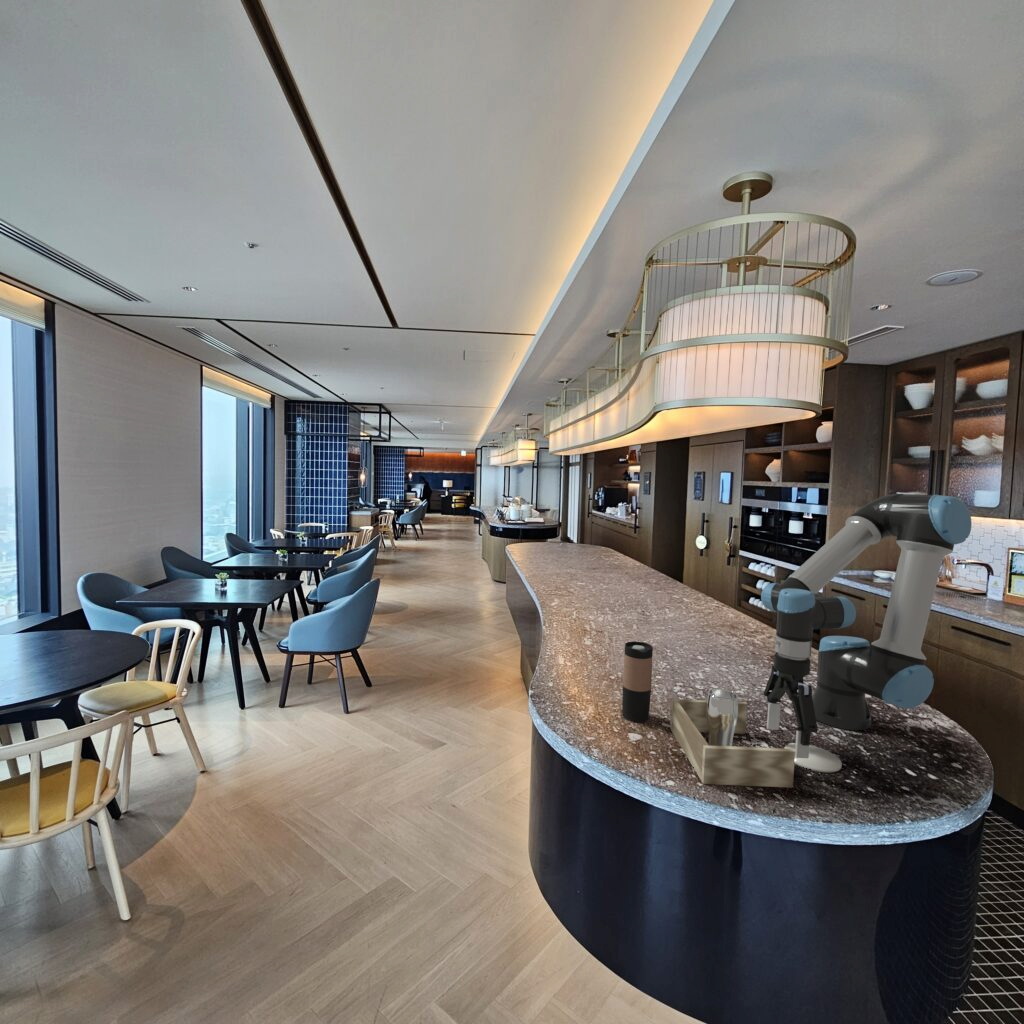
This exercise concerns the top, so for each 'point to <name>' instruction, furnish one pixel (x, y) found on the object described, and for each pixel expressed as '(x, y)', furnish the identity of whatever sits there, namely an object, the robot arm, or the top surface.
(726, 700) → the beer glass
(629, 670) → the travel mug
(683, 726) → the open side box
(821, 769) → the coaster
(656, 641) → the top surface
